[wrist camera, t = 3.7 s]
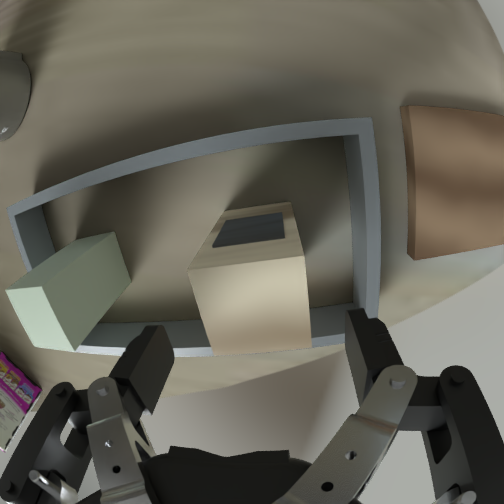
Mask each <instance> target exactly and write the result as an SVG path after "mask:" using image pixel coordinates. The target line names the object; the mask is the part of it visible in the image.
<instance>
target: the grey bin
mask: <svg viewBox="0 0 504 504" xmlns="http://www.w3.org/2000/svg"><path fill="white" fill-rule="evenodd" d="M342 135H343V140H344V148H345V156H346V164H347V174H348V184H349V195H350V208H351V224H352V245H353V302H352V303H345V304H339V305H332V306H325V307H318V308H310V309H309V313H310V327H311V341H312V347H311V348H314V347H322V346H329V345H335V344H342V343H345V313H346V310H350V309H356V308H364V310H365V312H366V314H367V316H368V319H369V318H375V317H377V318H378V306H379V290H380V267H381V217H380V193H379V178H378V165H377V155H376V146H375V137H374V129H373V122H372V117H368V118H346V119H331V120H319V121H309V122H300V123H291V124H283V125H276V126H269V127H262V128H256V129H250V130H244V131H238V132H233V133H228V134H223V135H218V136H213V137H208V138H204V139H199V140H195V141H191V142H186V143H182V144H178V145H174V146H170V147H167V148H163V149H159V150H156V151H152V152H148V153H145V154H142V155H138V156H135V157H132V158H128V159H125V160H122V161H119V162H116V163H113V164H110V165H107V166H104V167H101V168H98V169H96V170H93V171H90V172H87V173H85V174H82V175H79V176H77V177H74V178H72V179H69V180H67V181H64V182H62V183H59V184H57V185H55V186H52V187H50V188H48V189H45V190H43V191H41V192H39V193H36V194H34V195H32V196H30V197H28V198H26V199H24V200H21V201H19V202H17V203H15V204H13V205H11V206H9V207H7V212H8V216H9V219H10V223H11V226H12V229H13V233H14V236H15V239H16V242H17V245H18V248H19V251H20V253H21V256H22V259H23V262H24V264H25V267H26V269H27V272H30V271H31V270H32V269H34V268H35V267H37V266H38V265H39V264H41V263H42V262H44V261H45V260H46V259H48V258H49V257H51V256H52V255H54V254H55V253H56V252H55V249H54V246H53V243H52V240H51V237H50V234H49V231H48V227H47V224H46V221H45V217H44V214H43V210H42V207H41V204H43V203H46V202H48V201H51V200H53V199H56V198H59V197H61V196H64V195H67V194H69V193H72V192H75V191H78V190H80V189H83V188H86V187H89V186H92V185H95V184H98V183H101V182H104V181H108V180H111V179H114V178H117V177H121V176H124V175H127V174H131V173H134V172H138V171H141V170H145V169H149V168H152V167H156V166H160V165H164V164H168V163H172V162H176V161H181V160H185V159H189V158H194V157H198V156H203V155H208V154H213V153H218V152H223V151H228V150H233V149H239V148H245V147H251V146H257V145H263V144H270V143H277V142H284V141H292V140H300V139H309V138H319V137H329V136H342ZM146 325H163V326H164V328H165V330H166V333H167V335H168V338H169V340H170V343H171V345H172V348H173V350H174V356H175V357H199V356H214V354H213V351H212V348H211V345H210V342H209V339H208V336H207V333H206V330H205V327H204V324H203V321H202V319H199V320H183V321H163V322H136V323H97V324H96V325H95V326H94V328H93V329H92V330H91V332H90V333H89V334H88V335H87V337H86V338H85V339H84V340H83V342H82V343H81V344H80V346H79V347H78V348H77V349H76V351H75V352H80V353H91V354H104V355H120V356H121V355H122V354H123V352H124V351H125V349H126V347H127V346H128V344H129V343H130V342H131V341H132V340H133V339H134V338H135V337H137V336H139V335H140V334H141V332H142V331H143V329H144V328H145V326H146ZM304 349H307V348H304ZM295 350H298V349H295ZM286 351H289V350H286ZM70 352H73V351H70ZM276 352H280V351H276ZM265 353H269V352H265ZM252 354H257V353H252ZM238 355H243V354H238ZM219 356H226V355H219Z"/></svg>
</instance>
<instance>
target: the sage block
mask: <svg viewBox="0 0 504 504" xmlns="http://www.w3.org/2000/svg"><path fill="white" fill-rule="evenodd" d="M130 283H131V279H130V277H129V274H128V271H127V268H126V265H125V262H124V259H123V256H122V253H121V250H120V247H119V244H118V241H117V238H116V234H115V231H114V232H109V233H104V234H100V235H95V236H91V237H86V238H82V239H77V240H75V241H73V242H72V243H70V244H69V245H67V246H66V247H64V248H63V249H61V250H60V251H58V252H57V253H55V254H54V255H52V256H51V257H49V258H48V259H46V260H45V261H44V262H42V263H41V264H39V265H38V266H37V267H35V268H34V269H32V270H31V271H30V272H28V273H27V274H26V275H24V276H23V277H22V278H20V279H19V280H18V281H16V282H15V283H14V284H13V285H11V286H10V287H9V288H7V289H6V293H7V295H8V297H9V299H10V301H11V303H12V305H13V308H14V310H15V312H16V314H17V316H18V318H19V319H20V321H21V323H22V325H23V327H24V329H25V331H26V332H27V334H28V336H29V338H30V340H31V341H32V343H33V345H34V346H35V347H40V348H48V349H55V350H64V351H73V352H75V351H76V349H77V348H78V347H79V346H80V344H81V343H82V342H83V340H84V339H85V338H86V337H87V335H88V334H89V333H90V332H91V330H92V329H93V328H94V326H95V325H96V324H97V323H98V322H99V320H100V319H101V318H102V317H103V315H104V314H105V313H106V312H107V311H108V309H109V308H110V307H111V306H112V304H113V303H114V302H115V301H116V300H117V299H118V297H119V296H120V295H121V294H122V293H123V291H124V290H125V289H126V288H127V287H128V286H129V285H130Z"/></svg>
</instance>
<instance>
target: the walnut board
mask: <svg viewBox="0 0 504 504" xmlns="http://www.w3.org/2000/svg"><path fill="white" fill-rule="evenodd" d="M400 111H401V118H402V125H403V133H404V142H405V153H406V166H407V184H408V245H407V254H408V255H409V256H410V257H411V258H412V259H413V260H420V259H426V258H432V257H438V256H444V255H449V254H455V253H460V252H466V251H471V250H476V249H481V248H487V247H492V246H497V245H502V244H504V116H502V115H497V114H491V113H485V112H478V111H471V110H463V109H454V108H444V107H431V106H412V105H407V106H402V107H400Z"/></svg>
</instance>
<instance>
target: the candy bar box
mask: <svg viewBox="0 0 504 504" xmlns="http://www.w3.org/2000/svg"><path fill="white" fill-rule="evenodd" d="M41 392H42V390H41V389H40V388H39V387H38V386H37V385H36V384H35V383H34V382H32V381H31V380H30V379H29V378H28V377H27V376H26V375H25V374H24V373H23V372H22V371H21V370H20V369H19V368H17V367H16V366H15V365H14V364H13V363H12V362H11V361H10V360H9V359H8V358H7V356H6V355H5V354H4V353H3V352H0V449H1V450H2V451H3V452H6V451H7V449H8V447H9V445H10V444H11V442H12V440H13V438H14V437H15V435H16V433H17V432H18V430H19V428H20V426H21V425H22V423H23V422H24V420H25V419H26V417H27V415H28V414H29V412H30V411H31V409H32V408H33V406H34V405H35V403H36V401H37V400H38V398H39V396H40V394H41Z"/></svg>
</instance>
